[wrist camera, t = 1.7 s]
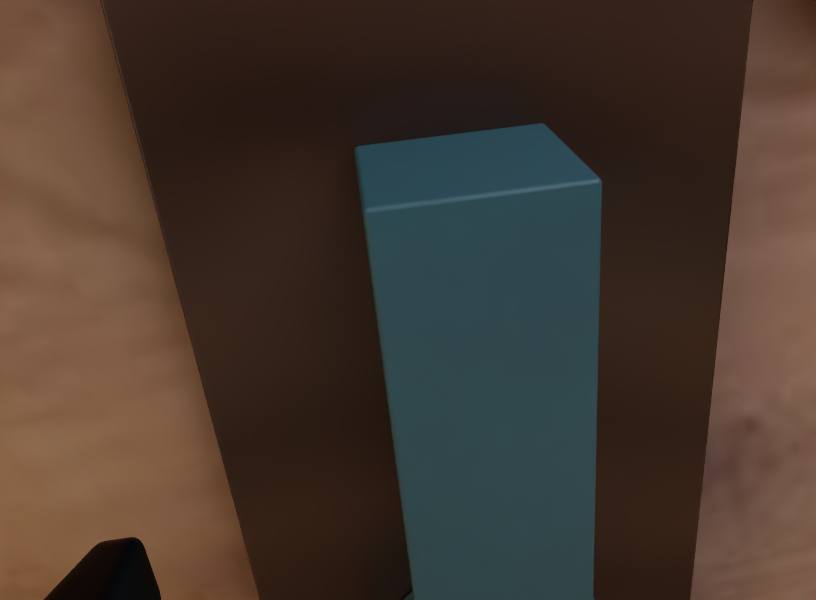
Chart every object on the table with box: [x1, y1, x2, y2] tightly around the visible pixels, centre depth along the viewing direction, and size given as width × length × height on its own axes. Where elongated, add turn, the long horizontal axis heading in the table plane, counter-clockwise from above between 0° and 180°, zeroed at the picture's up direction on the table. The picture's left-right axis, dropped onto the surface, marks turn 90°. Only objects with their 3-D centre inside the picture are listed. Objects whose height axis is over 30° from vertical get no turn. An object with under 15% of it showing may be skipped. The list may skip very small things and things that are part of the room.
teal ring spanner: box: [354, 123, 602, 600], centre depth 15 cm, size 15×5×3 cm, turn 5°
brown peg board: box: [100, 0, 753, 600], centre depth 14 cm, size 19×10×6 cm, turn 5°
